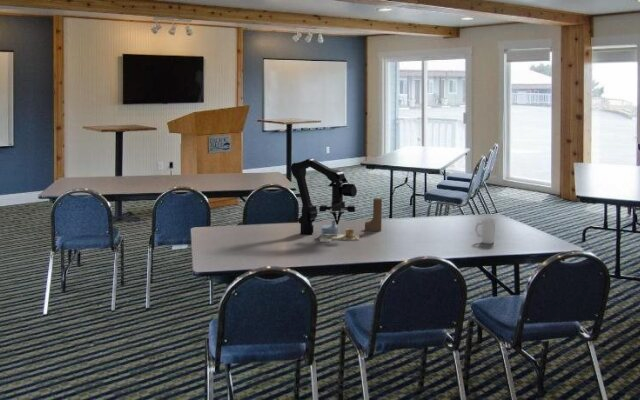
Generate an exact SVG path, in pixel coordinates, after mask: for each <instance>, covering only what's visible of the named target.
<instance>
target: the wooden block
mask: <svg viewBox="0 0 640 400" xmlns="http://www.w3.org/2000/svg"><path fill="white" fill-rule="evenodd" d="M372 202H373V203H372V205H373V207H372V208H373V209H372V212H373V213H372V216H373V217H372V219H371V220H368V221H365V222H364V231H365V232H381V231H382V215H383V211H382V210H383V208H382V206H383V198H381V197H380V198H379V197H374V198H373V201H372Z"/></svg>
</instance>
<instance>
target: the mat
mask: <svg viewBox="0 0 640 400" xmlns="http://www.w3.org/2000/svg"><path fill="white" fill-rule="evenodd" d="M332 241H333V240H332V239H322V238H321V239H319V242H320V243H321V242H322V243H331V242H332Z"/></svg>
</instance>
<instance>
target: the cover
mask: <svg viewBox="0 0 640 400" xmlns="http://www.w3.org/2000/svg"><path fill="white" fill-rule="evenodd" d="M331 222H332V223H331V224H322V226H321V230H320V231H321V233H320V234H321V237H323V235H324V234H335V237H337V234H339V230H338V229H339V228H338V227H339V224H338V225H336V222H335V220H331Z"/></svg>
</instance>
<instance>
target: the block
mask: <svg viewBox="0 0 640 400" xmlns="http://www.w3.org/2000/svg"><path fill="white" fill-rule="evenodd" d="M354 229H355V228H353V227H349V228H348V227H347V228H345V235H346V237H345V238H355V237H354V235H355V230H354Z"/></svg>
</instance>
